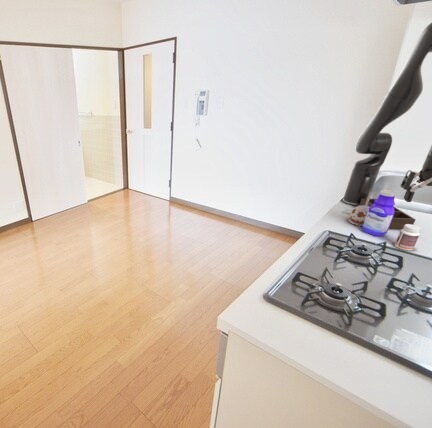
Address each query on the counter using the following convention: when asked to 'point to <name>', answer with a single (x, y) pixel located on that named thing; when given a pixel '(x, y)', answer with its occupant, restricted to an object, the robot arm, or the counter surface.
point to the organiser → (398, 218)
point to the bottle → (380, 214)
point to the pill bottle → (408, 237)
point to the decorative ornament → (360, 212)
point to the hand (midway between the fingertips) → (424, 202)
